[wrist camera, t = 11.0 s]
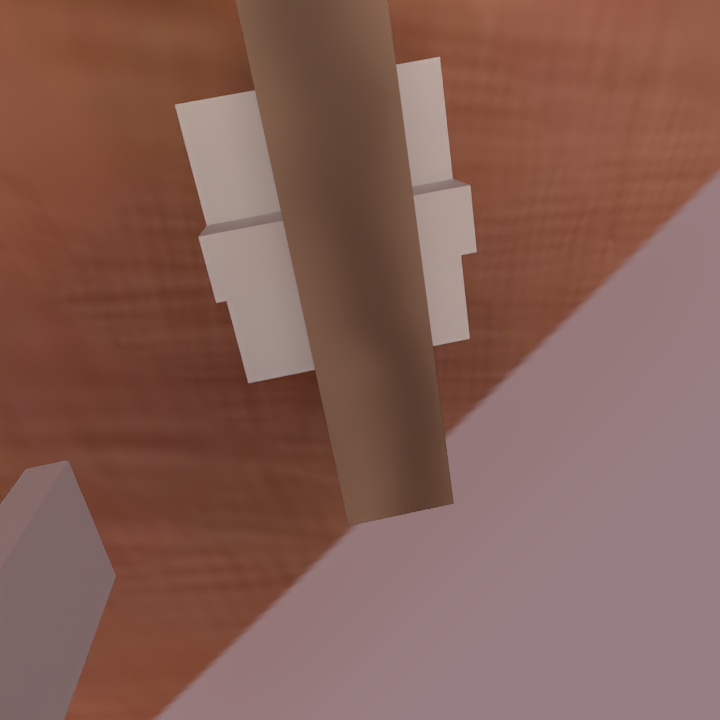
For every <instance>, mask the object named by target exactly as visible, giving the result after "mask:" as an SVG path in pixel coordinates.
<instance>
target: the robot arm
mask: <svg viewBox="0 0 720 720" xmlns="http://www.w3.org/2000/svg"><path fill="white" fill-rule="evenodd" d="M115 577H116V575H115V572H114V570H113V568H112V565H111V563H110V560H109V558H108V556H107V553H106V551H105V548H104V546H103V544H102V541H101V539H100V536H99V534H98V531H97V529H96V527H95V524H94V522H93V519H92V517H91V515H90V512H89V510H88V507H87V505H86V502H85V500H84V498H83V495H82V493H81V490H80V488H79V486H78V483H77V481H76V478H75V476H74V473H73V471H72V469H71V466H70V464H69V461H68V460H66V461H61V462H57V463H52V464H47V465H42V466H37V467H32V468H28V469H26V470H25V471H24V472H23V474H22V475H21V476H20V478H19V479H18V481H17V482H16V483H15V485H14V486H13V487H12V489H11V490H10V492H9V493H8V494H7V496H6V497H5V498H4V500H3V501H2V503H1V504H0V720H64V719H65V716H66V713H67V711H68V708H69V705H70V702H71V699H72V697H73V694H74V691H75V688H76V686H77V683H78V680H79V677H80V675H81V672H82V669H83V666H84V663H85V661H86V658H87V655H88V652H89V650H90V647H91V644H92V641H93V638H94V636H95V633H96V630H97V627H98V625H99V622H100V619H101V616H102V614H103V611H104V608H105V605H106V602H107V600H108V597H109V594H110V591H111V589H112V586H113V583H114V580H115Z"/></svg>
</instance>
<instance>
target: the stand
mask: <svg viewBox="0 0 720 720" xmlns="http://www.w3.org/2000/svg"><path fill="white" fill-rule="evenodd" d="M396 67H397V75H398V82H399V90H400V98H401V105H402V113H403V121H404V128H405V136H406V144H407V151H408V159H409V166H410V174H411V182H412V189H413V197H414V205H415V212H416V220H417V228H418V235H419V243H420V250H421V258H422V266H423V273H424V281H425V289H426V296H427V304H428V312H429V319H430V327H431V335H432V342H433V346H436V345H441V344H446V343H451V342H456V341H461V340H466V339H470V336H469V327H468V317H467V308H466V298H465V289H464V279H463V270H462V261H461V255H464V254H469V253H474V252H477V250H476V239H475V229H474V218H473V208H472V197H471V187H470V185H469V184H466V183H463V182H460V181H458V180H455V179H453V176H452V166H451V157H450V148H449V138H448V129H447V119H446V110H445V100H444V91H443V82H442V72H441V63H440V57H436V58H430V59H425V60H419V61H414V62H408V63H403V64H397V65H396ZM175 108H176V111H177V115H178V119H179V123H180V127H181V130H182V134H183V138H184V142H185V145H186V149H187V153H188V157H189V161H190V164H191V168H192V172H193V176H194V180H195V183H196V187H197V191H198V195H199V198H200V202H201V206H202V210H203V214H204V217H205V221H206V225H207V226H206V227H205V228H204V230H203V231H202V232H201V234H200V235H199V236H198V238H199V241H200V245H201V249H202V252H203V256H204V260H205V263H206V267H207V271H208V275H209V278H210V282H211V286H212V289H213V293H214V297H215V300H216V303H218V302H223V301H227V304H228V308H229V312H230V316H231V319H232V323H233V327H234V331H235V335H236V338H237V342H238V346H239V350H240V354H241V357H242V361H243V365H244V369H245V372H246V376H247V380H248V383H252V382H257V381H262V380H267V379H272V378H277V377H282V376H287V375H292V374H297V373H302V372H307V371H312V370H315V368H314V363H313V358H312V354H311V349H310V344H309V340H308V335H307V330H306V326H305V321H304V316H303V312H302V307H301V303H300V298H299V293H298V289H297V284H296V279H295V275H294V270H293V265H292V261H291V256H290V251H289V247H288V242H287V237H286V233H285V228H284V223H283V219H282V214H281V209H280V205H279V200H278V195H277V191H276V186H275V181H274V177H273V172H272V168H271V163H270V158H269V154H268V149H267V144H266V140H265V135H264V130H263V126H262V121H261V116H260V112H259V107H258V102H257V98H256V93H255V90H253V91H248V92H242V93H237V94H231V95H226V96H220V97H214V98H209V99H203V100H198V101H192V102H187V103H181V104H176V105H175Z"/></svg>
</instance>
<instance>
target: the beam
mask: <svg viewBox="0 0 720 720" xmlns="http://www.w3.org/2000/svg"><path fill="white" fill-rule="evenodd" d="M236 5H237V9H238V14H239V19H240V23H241V28H242V33H243V37H244V42H245V46H246V51H247V56H248V60H249V65H250V70H251V74H252V79H253V84H254V88H255V93H256V98H257V102H258V107H259V112H260V116H261V121H262V126H263V130H264V135H265V140H266V144H267V149H268V154H269V158H270V163H271V168H272V172H273V177H274V181H275V186H276V191H277V195H278V200H279V205H280V209H281V214H282V219H283V223H284V228H285V233H286V237H287V242H288V247H289V251H290V256H291V261H292V265H293V270H294V275H295V279H296V284H297V289H298V293H299V298H300V303H301V307H302V312H303V316H304V321H305V326H306V330H307V335H308V340H309V344H310V349H311V354H312V358H313V363H314V368H315V372H316V377H317V382H318V386H319V391H320V396H321V400H322V405H323V410H324V414H325V419H326V424H327V428H328V433H329V437H330V442H331V447H332V451H333V456H334V461H335V465H336V470H337V475H338V479H339V484H340V489H341V493H342V498H343V503H344V507H345V512H346V517H347V521H348V526H350V525H355V524H359V523H364V522H369V521H374V520H378V519H383V518H387V517H392V516H397V515H402V514H407V513H411V512H416V511H421V510H425V509H430V508H435V507H439V506H444V505H449V504H453V495H452V488H451V480H450V472H449V465H448V457H447V449H446V442H445V434H444V426H443V419H442V411H441V403H440V396H439V388H438V380H437V373H436V365H435V357H434V350H433V342H432V335H431V327H430V319H429V312H428V304H427V296H426V289H425V281H424V273H423V266H422V258H421V250H420V243H419V235H418V228H417V220H416V212H415V205H414V197H413V189H412V182H411V174H410V166H409V159H408V151H407V144H406V136H405V128H404V121H403V113H402V105H401V98H400V90H399V82H398V75H397V67H396V60H395V52H394V44H393V37H392V29H391V21H390V14H389V6H388V0H236Z"/></svg>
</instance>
